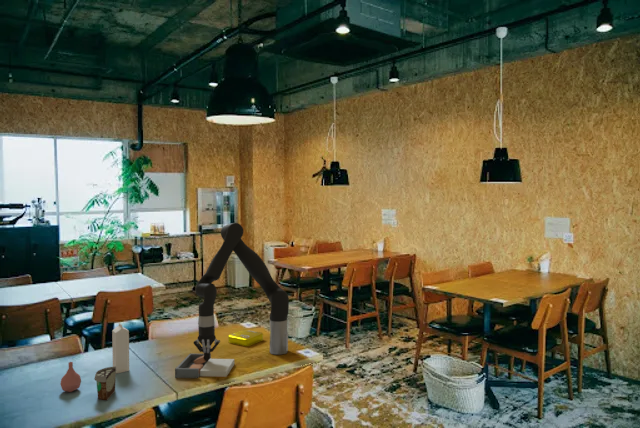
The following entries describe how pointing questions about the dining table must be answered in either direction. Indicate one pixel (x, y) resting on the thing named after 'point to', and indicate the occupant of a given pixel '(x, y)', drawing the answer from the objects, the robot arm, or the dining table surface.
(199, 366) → the tile outer
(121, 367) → the milk
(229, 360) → the board
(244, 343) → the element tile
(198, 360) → the tile inner
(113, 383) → the food container
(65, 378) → the pink bulb-shaped piece
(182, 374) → the tray
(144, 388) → the dining table surface
